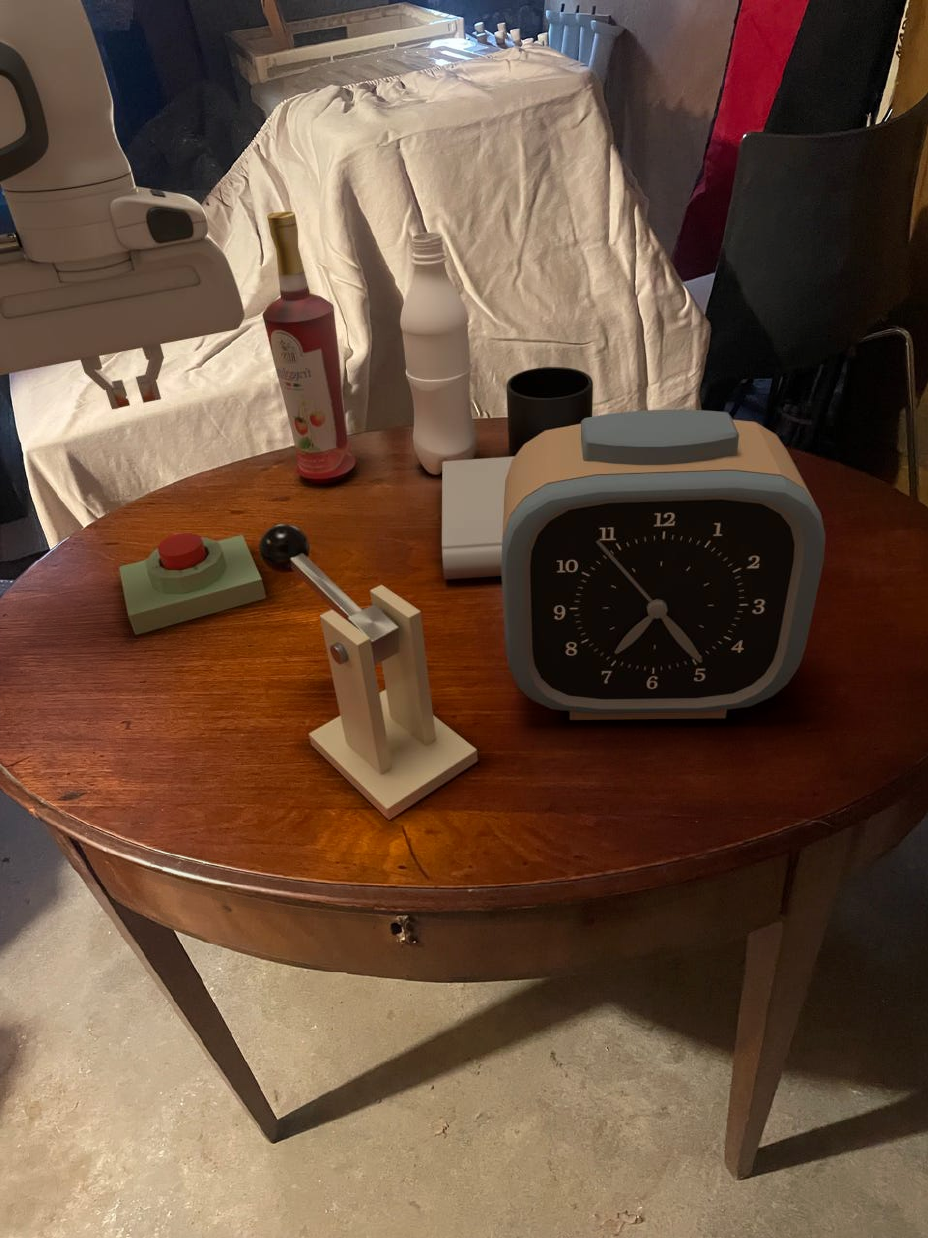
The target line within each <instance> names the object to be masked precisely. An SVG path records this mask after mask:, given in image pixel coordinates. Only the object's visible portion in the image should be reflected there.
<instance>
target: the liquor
mask: <svg viewBox="0 0 928 1238" xmlns="http://www.w3.org/2000/svg"><path fill="white" fill-rule="evenodd" d="M266 217H267V222H268V228H269V233H270V237H271V239H272V242H273V245H274V248H275V251H276V262H277V273H278V283H279V295H280V297H278V298H276V299H275V300H273V301H272V302H270V303H269V305H268V306H267V307H266V308H265V310H264V311H263V312H262V319H263V323H264V327H265V331H266V335H267V340H268V343H269V344H268V345H269V348H270V352H271V356H272V360H273V365H274V368H275V371H276V375H277V379H278V383H279V387H280V390H281V394H282V397H283V402H284V406H285V411H286V414H287V418H288V422H289V427H290V431H291V435H292V439H293V443H294V449H295V453H296V457H297V463H296V465H295V472H296V473H297V475H299V476H300V477H303V479H306V480H308V481H309V482H310V483H313V484H318V485H327V484H333V483H336V482H338V481H341V480H342V479H344V478H345V477H346V476H347V474H348V473H349V472H350V471H351V470H352V469H353V468H354V467H355V465H356V459H355V457H354V456H353V455H352V453H351V449H350V441H349V435H348V434H349V433H348V427H347V419H346V411H345V410H346V409H345V401H344V393H343V384H342V382H343V381H342V371H341V361H340V360H341V359H340V349H339V341H338V333H337V326H336V324H337V323H336V317H335V316H336V315H335V306H334V304H333V303H331V302H330V301H329V300H327V299H325V298H324V297H323V296H321V295H317V294H314V293H311V291H310V288H309V284H308V280H307V276H306V272H305V267H304V263H303V260H302V256H301V253H300V249H299V229H298V224H297V217H296V213H295V212H294V211H278V212H274V213H270V214H267V216H266Z"/></svg>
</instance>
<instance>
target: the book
mask: <svg viewBox="0 0 928 1238" xmlns="http://www.w3.org/2000/svg"><path fill="white" fill-rule="evenodd" d="M514 457H515V456H514ZM514 457H509V456H501V457H489V458H488V457H487V458H486V457H485V458H473V459H471V460H457V461H443V463H442V472H441V473H442V474H441V475H442V476H441V477H442V478H441V479H442V480H441V484H442V485H441V557H442V570H443V576H444V577H443V578H444V580H462V579H476V578H477V579H478V578H493V577H502V574H501V558H502V535H503V512H504V492H505V480H506V477H507V474H508V471H509V468H510V465H511V462H512V460H513V458H514Z"/></svg>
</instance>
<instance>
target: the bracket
mask: <svg viewBox="0 0 928 1238" xmlns="http://www.w3.org/2000/svg"><path fill="white" fill-rule="evenodd" d="M369 593H370V600H371V605H373V604H375V605H376V606H377V607H378V608H379V609H380V610H381V611H382V612H383V613H384V614H385V615H386V616H387V617H389V618H390V619H391V620H392V621H393V622H394V623H395V624H396V625H397V626H398V627H399V652H398V653H397V654H395V655H393V656H391V657H389V658H388V659H386V660H384V661H382V662H381V668H382V669H381V670H382V674H383V680H384V686H385V687H384V688H385V689H383V690H382V691H380V689H379V683H378V676H377V671H376V665H375V664H374V658H373V652H372V646H371V640H370V638H369V637H368V636H367V635H365V634H364V633H363V632H361V631H360V630H359V629H357V628H356V627H355V626H353V625H352V624H351V623H349V622H348V621H347V620H346V619H344V618H343V617H342V616H340V615H339V614H338V613H336V612H335V611H334V610H333V609H330V610H328V611H325V612H323V613H322V614H320V615H319V619H320V624H321V628H322V633H323V638H324V644H325V648H326V652H327V657H328V662H329V666H330V672H331V676H332V681H333V686H334V692H335V695H336V696H335V697H336V700H337V706H338V709H339V716H337V717H335V718H333V719H332V720H329V722H326V723H325V724H323V725H322V726H321V725H320V726H319V727H318V728H316V729H314V730H312V731H311V732H309V733H308V738H309V741H310V745H311V746H312V748H314V749H315V750H316V751H317V752H318V753H319V754H320V755H321V756H322V757H323V758H324V759H325V760H326V761H327V762H329V764H330V765H331V766H332V767H333V768H335V770H337V771H338V772H339V774H341V776H343V778H345V779H346V780H347V781H348V782H349V784H351V785H352V786H353V787H354V788H355V789H356V790H357V791H358V793H360V794H361V795H362V796H363V797H364V798H365V799H366V800H367V801H368V802H370V804H372V805H373V806H374V808H376V809H377V810H378V811H379V812H380V813H381V814H382V815H383V817H385V818H386V819H387V820H388V821H390V820H392V819H393V818H395V817H396V816H398V815H399V814H401V813H402V812H404V811H405V810H407V809H409V808H410V807H412V806H413V805H415V804H416V803H417V802H418V801H420V800H422V799H424V798H425V797H426V796H428V795H429V794H431V793H433V792H434V791H435V790H437V789H438V788H440V787H442V786H443V785H444V784H446V783H447V782H449V781H450V780H452V779H454V778H455V777H456V776H458V775H459V774H461V773H462V772H464V771H466V769H469V768H470V767H471V766H473V765H474V764H476V763H477V762H479V759H478V750H477V748H476V747H474V746H473V745H472V744H470V743H469V742H468V741H466V739H464V738H463V737H461V735H459V734H457V732H455V731H454V730H453V729H452V728H450V727H449V726H447V724H445V723H444V721H443V722H442V721H441V720H440V719H439V718H437V717H436V716H435V715H434V711H433V710H434V709H433V701H432V694H431V693H432V692H431V684H430V678H429V676H430V675H429V670H428V669H429V668H428V661H427V654H426V653H427V652H426V645H425V636H424V627H423V620H422V619H423V618H422V611H421V610H420V609H418V608H416V607H415V606H414V605H412V604H410V602H408V601H406V600H405V599H403V598H402V597H400V596H399V595H398V594H396V593H394V592H393V591H391V589H389V588H387V587H386V586H384V584H380V585H378V586H376V587H374V588H372V589H370V590H369Z"/></svg>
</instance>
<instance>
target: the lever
mask: <svg viewBox="0 0 928 1238" xmlns="http://www.w3.org/2000/svg"><path fill="white" fill-rule="evenodd" d="M258 545H259V546H258V552H259V556H260V559H261V561H262V563H263V564H264V565H265V566H266V567H267V568H268V569H269V570H271V571H272V572H275V573H278V574H285V575H286V574H291V573H292V574H293V573H295V574H296V576H298V577H299V578H300V579H301V580H302V581H303V582H304V583H305V584H306V585H307V586H308V587H309V588H310V589H311V590H312V592H314V593H315V594H316V595H317V596H318V597H319V598H320V599H321V600H322V601H323V602H324V603H325V604H327V606H328V607H330V609H331V610H334V611H335V612H336V613H338V614H339V615H340V616H342V617H343V618H344V619H346V620H347V621H348V622H349V623H351V624H352V625H353V626H355V627H356V628H357V629H359V630H360V631H361V632H363V633H364V634H365V635H367V636H368V637H369V638H370V640H371V646H372V652H373V658H374V664H375V666H377V665H378V664H380V663H382V661H384V660H386V659H388V658H389V657H391V656H393V655H395V654H397V653H398V652H399V627H398V626H397V625H396V624H395V623H394V622H393V621H392V620H391V619H390V618H389V617H387V616H386V615H385V614H384V613H383V612H382V611H381V610H380V609H379V608H378V607H377V606H376V605H375V604H373V605H372V604H371V605H370V606H367V607H366V608H363V609H362V607H360V605H358V604H357V603H356V602H355V601H354V600H353V599H352V598H351V597H350V596H348V595H347V594H346V593H345V592H344V591H343V590H342V589H341V588H340V587H339V586H338V584H336V583H335V582H334V581H333V580H332V579H331V578H330V577H329V576H327V574H326V573H324V572H323V571H322V570H321V569H320V567H318V566H317V565H316V564H315V563H314V562H313V561H312V560H311V559H309V556H310V549H311V548H310V542H309V539H308V538H307V536H306V533H304V532H303V531H302V530H301V529H300V528H299V527H297V526H295V525H292V524H290V523H278V524H275V525H273V526H271V527H269V528H268V529H266V530H265V532H264V533H263V534H262V536H261V537H260V541H259V544H258Z"/></svg>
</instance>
